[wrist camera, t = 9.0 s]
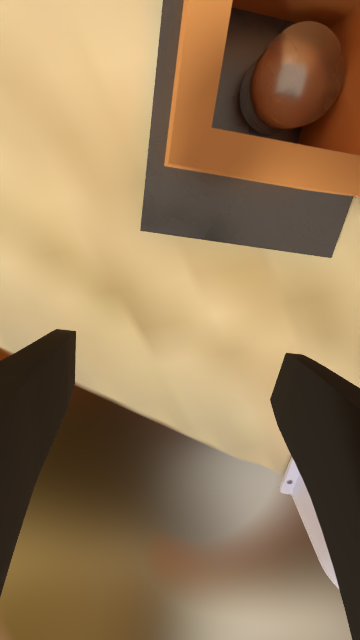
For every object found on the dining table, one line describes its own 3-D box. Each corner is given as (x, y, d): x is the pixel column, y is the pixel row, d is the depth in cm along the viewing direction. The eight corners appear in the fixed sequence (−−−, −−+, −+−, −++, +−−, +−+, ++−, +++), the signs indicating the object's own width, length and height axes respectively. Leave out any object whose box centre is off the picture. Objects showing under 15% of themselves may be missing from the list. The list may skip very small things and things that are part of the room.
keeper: (323, 253, 19) (364, 274, 15) (141, 227, 18) (137, 242, 14) (433, -70, 14) (540, -164, 10) (178, -146, 12) (188, -289, 8)
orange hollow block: (307, 190, 17) (380, 199, 11) (164, 165, 16) (168, 163, 10) (363, 0, 14) (501, -112, 8) (188, -44, 13) (214, -206, 7)
